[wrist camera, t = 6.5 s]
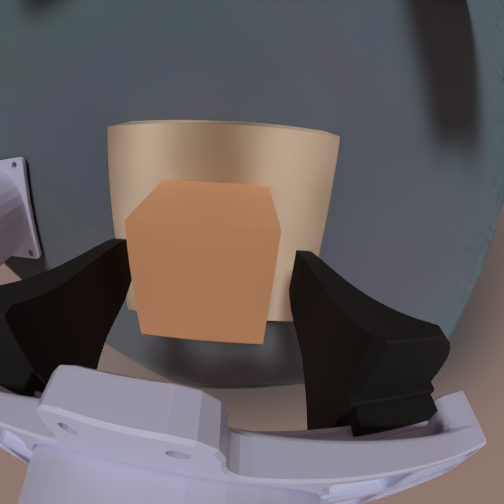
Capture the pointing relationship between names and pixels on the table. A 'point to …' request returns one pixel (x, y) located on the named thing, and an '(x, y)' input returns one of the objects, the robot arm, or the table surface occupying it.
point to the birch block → (231, 177)
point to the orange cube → (204, 260)
